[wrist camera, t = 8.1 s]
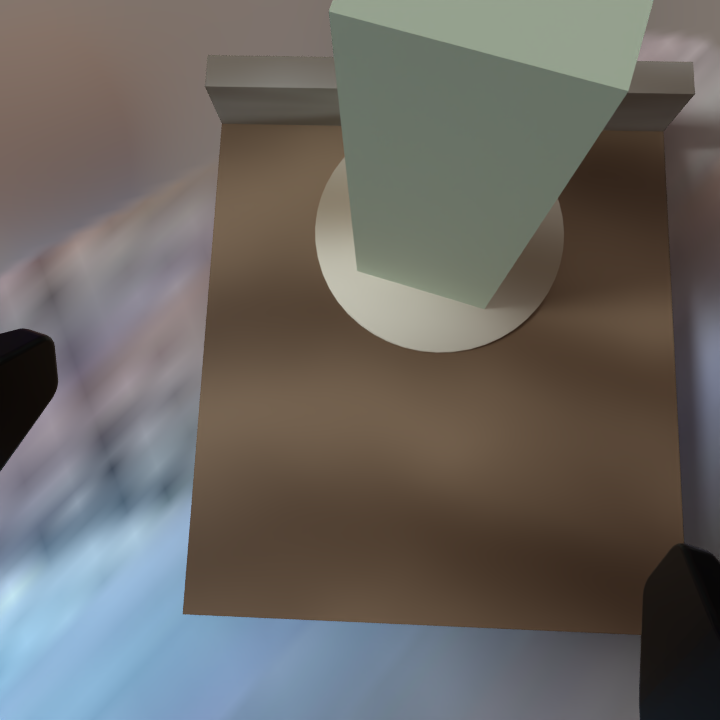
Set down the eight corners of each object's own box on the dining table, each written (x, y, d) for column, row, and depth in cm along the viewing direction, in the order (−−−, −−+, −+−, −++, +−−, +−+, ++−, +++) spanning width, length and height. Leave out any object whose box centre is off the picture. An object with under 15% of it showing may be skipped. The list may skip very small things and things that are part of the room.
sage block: (484, 309, 19) (628, 90, 8) (357, 271, 19) (328, 11, 8) (519, 189, 19) (698, -166, 9) (396, 154, 20) (417, -231, 9)
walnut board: (668, 626, 18) (729, 659, 15) (195, 605, 19) (158, 632, 16) (645, 122, 21) (693, 61, 18) (232, 115, 22) (207, 55, 18)
